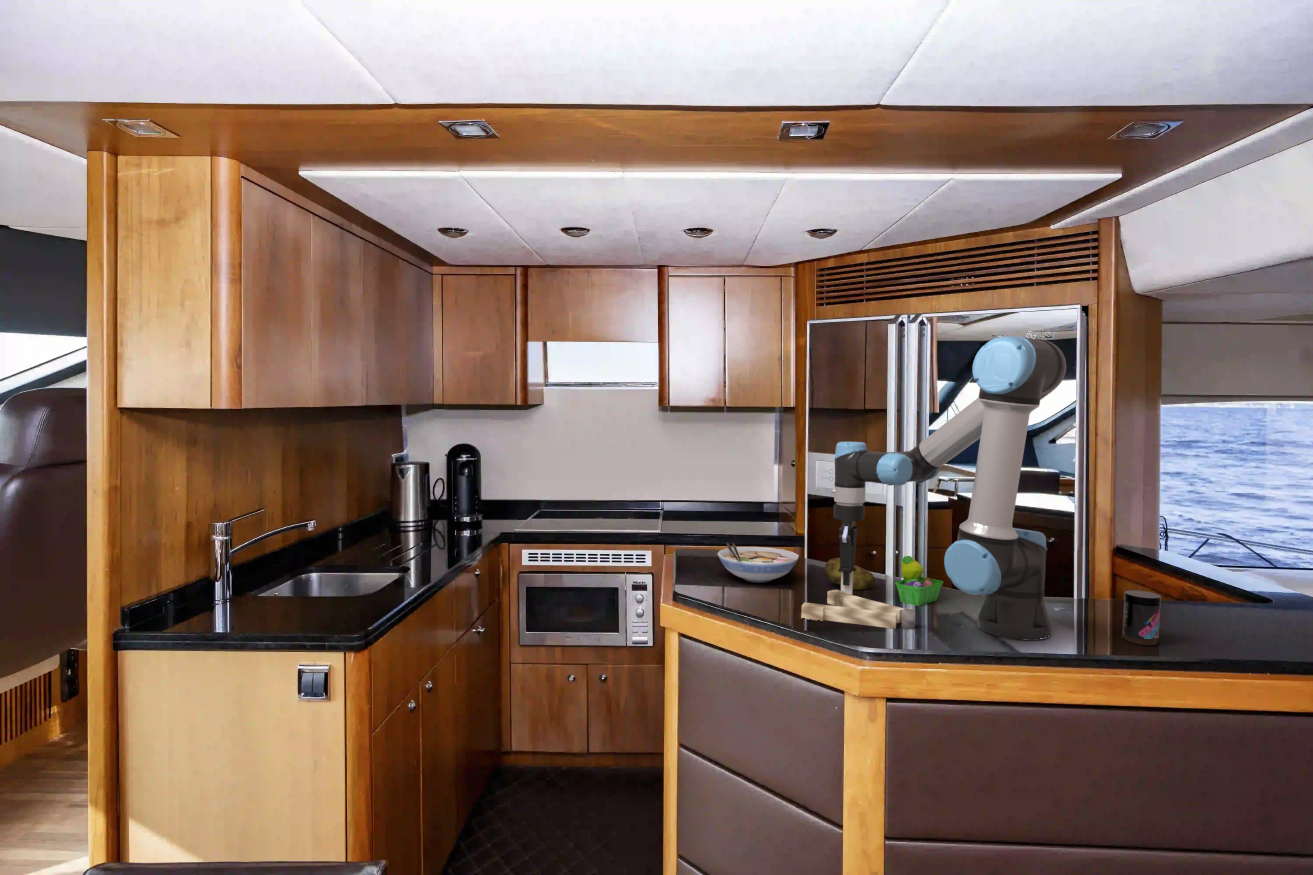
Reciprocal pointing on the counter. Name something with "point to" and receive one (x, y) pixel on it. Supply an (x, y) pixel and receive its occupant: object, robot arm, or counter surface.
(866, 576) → the potato
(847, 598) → the bar
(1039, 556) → the robot arm
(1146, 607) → the supplement container
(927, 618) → the counter surface
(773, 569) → the ramen bowl
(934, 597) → the fruit basket
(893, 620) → the tongs fixed
